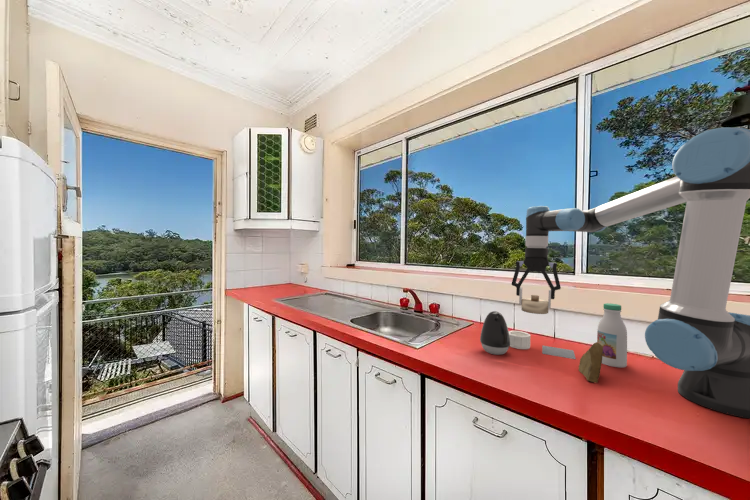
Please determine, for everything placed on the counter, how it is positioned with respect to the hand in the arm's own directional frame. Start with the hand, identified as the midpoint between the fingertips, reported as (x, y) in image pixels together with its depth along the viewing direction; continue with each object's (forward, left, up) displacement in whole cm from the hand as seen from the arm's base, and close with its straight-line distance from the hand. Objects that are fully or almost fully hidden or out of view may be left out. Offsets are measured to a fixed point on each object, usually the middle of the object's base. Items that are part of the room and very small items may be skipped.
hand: (534, 305), depth 109 cm
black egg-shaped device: (-13, +12, -17) cm, 24 cm away
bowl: (-1, +5, -16) cm, 17 cm away
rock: (-18, -15, -17) cm, 29 cm away
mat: (-1, -8, -16) cm, 18 cm away
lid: (0, 0, -2) cm, 2 cm away
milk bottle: (-3, -23, -17) cm, 28 cm away
